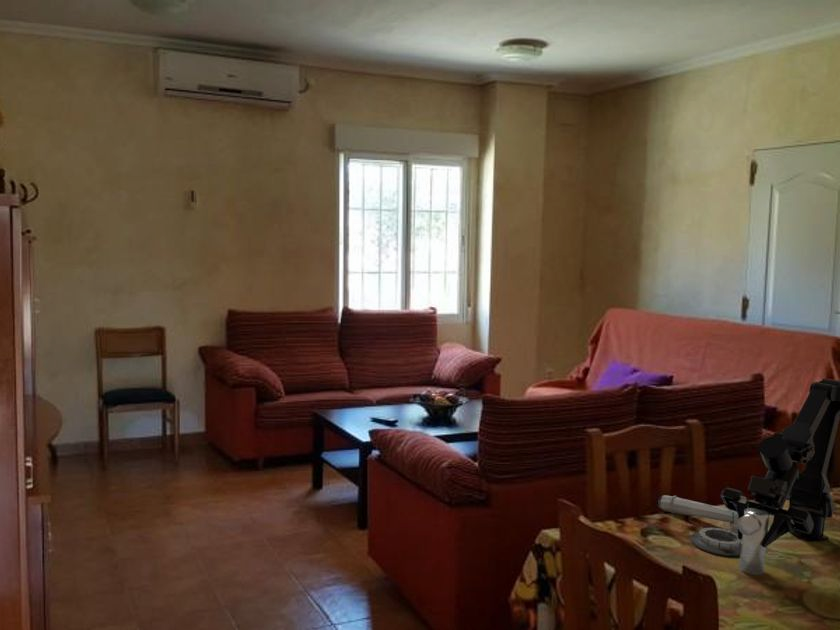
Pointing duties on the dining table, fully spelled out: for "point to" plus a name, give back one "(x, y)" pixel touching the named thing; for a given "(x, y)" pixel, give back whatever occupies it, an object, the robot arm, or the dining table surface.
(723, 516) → the grey pipe
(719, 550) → the collar
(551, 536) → the dining table surface
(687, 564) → the dining table surface
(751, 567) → the elbow
